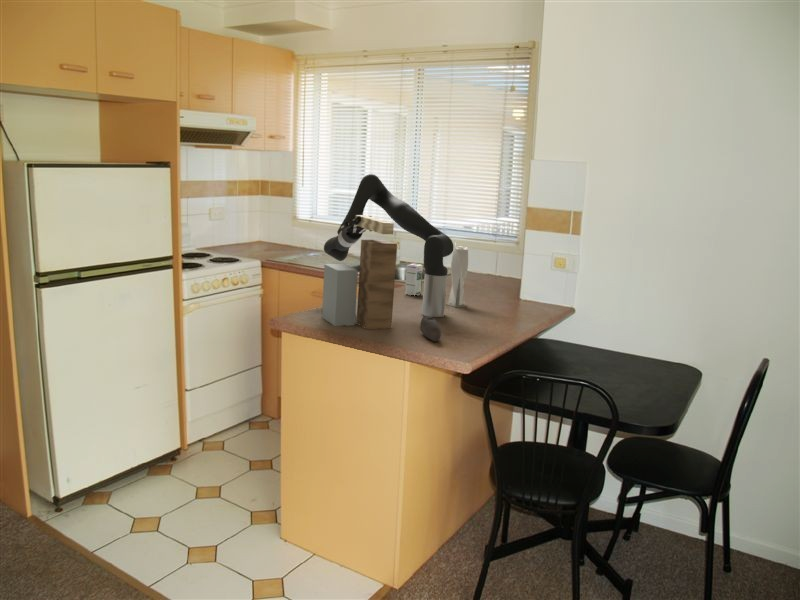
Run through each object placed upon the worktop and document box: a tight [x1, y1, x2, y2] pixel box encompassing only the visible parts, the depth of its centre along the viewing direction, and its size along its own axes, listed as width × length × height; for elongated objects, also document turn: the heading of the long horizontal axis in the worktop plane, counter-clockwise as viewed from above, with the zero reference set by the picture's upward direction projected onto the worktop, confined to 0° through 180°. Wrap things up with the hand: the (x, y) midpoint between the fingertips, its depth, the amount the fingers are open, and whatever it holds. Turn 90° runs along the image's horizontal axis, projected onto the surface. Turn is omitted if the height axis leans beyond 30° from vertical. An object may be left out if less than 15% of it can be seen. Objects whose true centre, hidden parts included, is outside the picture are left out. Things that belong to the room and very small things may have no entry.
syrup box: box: [404, 263, 424, 297], centre depth 317 cm, size 6×6×14 cm
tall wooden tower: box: [356, 239, 398, 330], centre depth 251 cm, size 10×10×32 cm
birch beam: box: [355, 214, 395, 235], centre depth 252 cm, size 26×4×4 cm, turn 27°
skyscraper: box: [445, 241, 469, 309], centre depth 299 cm, size 8×8×28 cm
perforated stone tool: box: [419, 315, 442, 343], centre depth 241 cm, size 15×5×7 cm, turn 14°
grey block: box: [321, 263, 359, 327], centre depth 255 cm, size 14×8×21 cm, turn 26°
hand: (365, 218), depth 258 cm, fingers closed on birch beam, 4 cm apart
